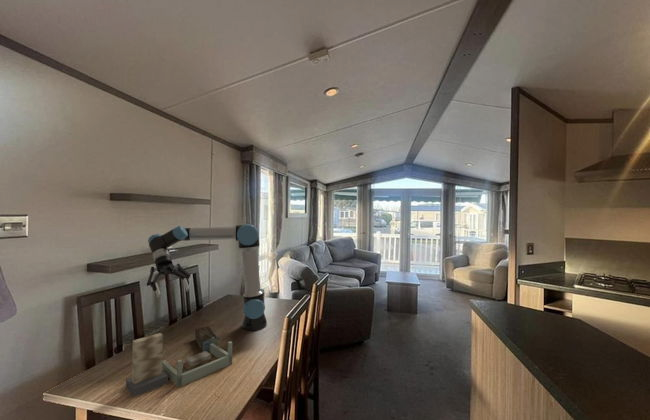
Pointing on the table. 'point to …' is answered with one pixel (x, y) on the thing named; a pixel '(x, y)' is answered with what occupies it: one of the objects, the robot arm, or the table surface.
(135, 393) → the rubber block
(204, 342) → the beverage carton
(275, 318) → the table surface
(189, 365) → the offcut stack
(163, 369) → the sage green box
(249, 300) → the robot arm
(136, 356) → the birch block
